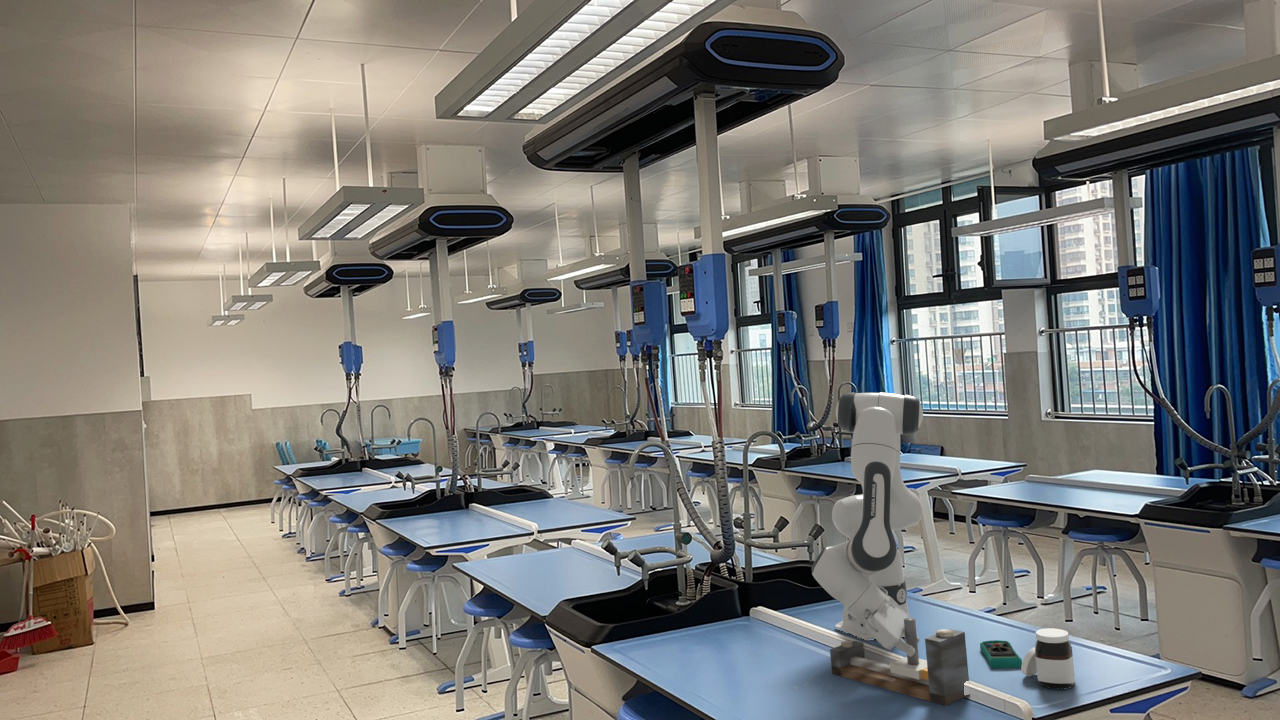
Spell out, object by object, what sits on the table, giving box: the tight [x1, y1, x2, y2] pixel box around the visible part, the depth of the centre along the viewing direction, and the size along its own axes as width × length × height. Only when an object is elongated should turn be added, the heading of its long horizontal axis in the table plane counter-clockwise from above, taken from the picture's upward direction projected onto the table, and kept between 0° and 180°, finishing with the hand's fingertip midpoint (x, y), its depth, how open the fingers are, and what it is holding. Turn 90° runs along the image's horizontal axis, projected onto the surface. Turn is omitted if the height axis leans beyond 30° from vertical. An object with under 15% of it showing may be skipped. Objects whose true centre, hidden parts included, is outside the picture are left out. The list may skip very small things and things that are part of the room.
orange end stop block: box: [921, 667, 929, 680], centre depth 211 cm, size 3×5×2 cm, turn 126°
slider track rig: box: [829, 628, 970, 707], centre depth 220 cm, size 33×9×15 cm, turn 36°
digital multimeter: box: [979, 640, 1023, 669], centre depth 231 cm, size 7×15×3 cm, turn 170°
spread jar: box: [1020, 627, 1076, 690], centre depth 213 cm, size 12×11×12 cm
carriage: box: [889, 617, 927, 680], centre depth 216 cm, size 8×7×12 cm
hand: (915, 648), depth 215 cm, fingers open, 7 cm apart
